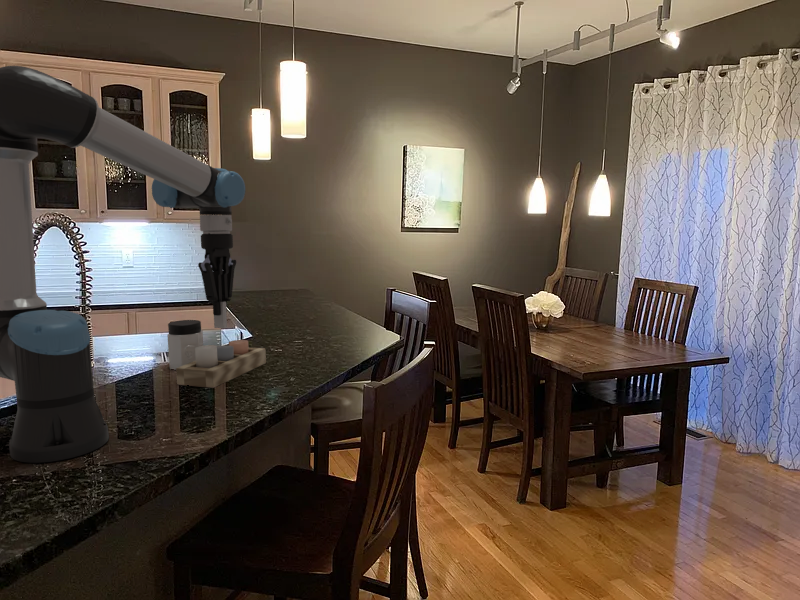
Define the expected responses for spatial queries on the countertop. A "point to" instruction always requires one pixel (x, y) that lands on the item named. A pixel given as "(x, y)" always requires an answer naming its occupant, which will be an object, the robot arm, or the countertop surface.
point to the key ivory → (206, 356)
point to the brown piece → (240, 346)
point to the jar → (183, 342)
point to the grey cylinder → (225, 353)
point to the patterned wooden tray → (220, 369)
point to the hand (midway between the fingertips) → (220, 327)
